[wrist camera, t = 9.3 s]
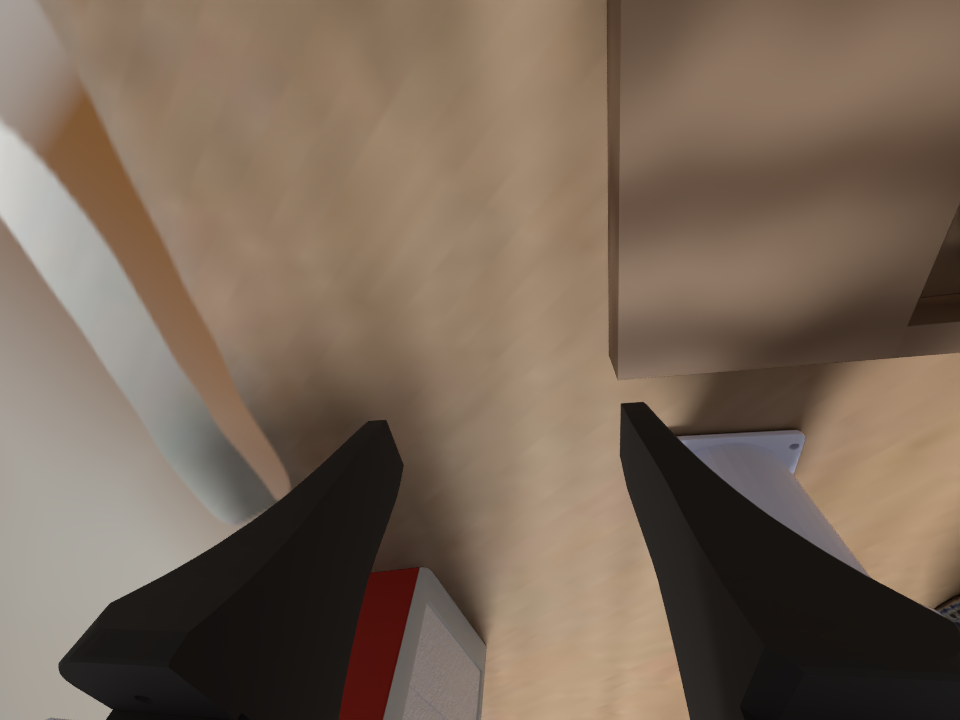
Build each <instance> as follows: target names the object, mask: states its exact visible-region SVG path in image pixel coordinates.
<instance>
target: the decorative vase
mask: <svg viewBox="0 0 960 720" xmlns="http://www.w3.org/2000/svg"><path fill="white" fill-rule="evenodd" d="M936 611H938V612H939V613H940V614H941V615H943V616H944V617H945V618H947V619H949V620H951V621H953V622H954V623H955V624H956V625H957V626H958V627H959V628H960V596H958V597H956V598H954V599H952V600H950V601H948V602H946V603H944V604H943V605H941V606H940V607H939V608H937V609H936Z"/></svg>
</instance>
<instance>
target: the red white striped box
mask: <svg viewBox="0 0 960 720" xmlns="http://www.w3.org/2000/svg"><path fill="white" fill-rule="evenodd" d="M486 649H487V648H486V646H485V644H484V643H483V641H482V640H481V639H480V637H479V636H478V634H477V633H476V632H475V630H474V629H473V628H472V626H471V625H470V623H469V622H468V621H467V619H466V618H465V616H464V615H463V614H462V612H461V611H460V610H459V608H458V607H457V605H456V604H455V603H454V601H453V600H452V598H451V597H450V596H449V594H448V593H447V592H446V590H445V589H444V587H443V586H442V585H441V583H440V582H439V580H438V579H437V578H436V576H435V575H434V574H433V572H432V571H431V570H430V569H428V568H425V567H420V569H419V568H418V567H417V568H408V569H400V570H391V571H383V572H374V573H370V575H369V579H368V583H367V587H366V591H365V595H364V599H363V603H362V607H361V611H360V615H359V619H358V624H357V628H356V633H355V637H354V641H353V646H352V651H351V656H350V661H349V666H348V671H347V676H346V681H345V686H344V692H343V698H342V704H341V710H340V716H339V720H481V713H482V700H483V687H484V674H485V662H486Z"/></svg>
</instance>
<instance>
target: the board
mask: <svg viewBox="0 0 960 720" xmlns="http://www.w3.org/2000/svg"><path fill="white" fill-rule="evenodd" d="M607 84H608V261H609V357H610V359H611V362H612V365H613V368H614V371H615V374H616V377H617V379H618V380H628V379H640V378H653V377H665V376H677V375H690V374H702V373H714V372H727V371H739V370H751V369H764V368H776V367H788V366H801V365H813V364H825V363H838V362H850V361H862V360H875V359H887V358H899V357H912V356H924V355H936V354H949V353H960V294H952V295H943V296H933V297H924V298H919V297H920V295H921V293H922V290H923V288H924V286H925V283H926V281H927V279H928V276H929V274H930V272H931V269H932V267H933V265H934V262H935V260H936V258H937V255H938V253H939V251H940V248H941V246H942V244H943V241H944V239H945V237H946V234H947V232H948V230H949V227H950V225H951V223H952V220H953V218H954V216H955V213H956V211H957V209H958V206H959V204H960V0H607Z"/></svg>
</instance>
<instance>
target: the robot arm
mask: <svg viewBox="0 0 960 720" xmlns="http://www.w3.org/2000/svg"><path fill="white" fill-rule="evenodd" d="M804 442H805V436H804V434H803V433H802V432H801V431H799V430H785V431H767V432H748V433H730V434H712V435H694V436H675V435H674V434H673V433H672V432H671V431H670V430H669V428H668V427H667V426H666V425H665V424H664V423H663V422H662V421H661V420H660V419H659V418H658V417H657V416H656V415H655V413H654V412H653V411H652V410H651V409H650V408H649V407H648V406H647V405H646V404H645V403H644V402H636V403H622V404H621V427H620V458H621V462H622V467H623V472H624V476H625V481H626V485H627V489H628V492H629V495H630V498H631V501H632V504H633V507H634V510H635V513H636V516H637V518H638V521H639V524H640V527H641V530H642V533H643V536H644V539H645V542H646V545H647V547H648V550H649V553H650V556H651V559H652V562H653V565H654V568H655V572H656V575H657V578H658V582H659V586H660V590H661V594H662V598H663V602H664V606H665V611H666V615H667V619H668V623H669V627H670V632H671V636H672V640H673V644H674V649H675V653H676V657H677V662H678V666H679V671H680V675H681V680H682V684H683V689H684V693H685V698H686V702H687V707H688V711H689V716H690V720H960V628H959V627H958V626H957V625H956V624H955V623H954V622H953V621H951V620H949V619H947V618H945V617H944V616H943V615H941V614H940V613H939V612H938V611H936V610H934V609H932V608H929V607H926V606H924V605H921V604H919V603H917V602H915V601H913V600H911V599H909V598H907V597H905V596H904V595H902V594H900V593H898V592H896V591H894V590H892V589H890V588H888V587H886V586H885V585H883V584H881V583H879V582H877V581H875V580H873V579H872V578H871V577H870V576H869V575H868V573H867V572H866V571H865V569H864V568H863V567H862V565H861V564H860V563H859V561H858V560H857V559H856V557H855V556H854V555H853V553H852V552H851V551H850V550H849V548H848V547H847V546H846V544H845V543H844V542H843V540H842V539H841V538H840V536H839V535H838V534H837V532H836V531H835V530H834V528H833V527H832V526H831V524H830V523H829V522H828V520H827V519H826V518H825V516H824V515H823V514H822V512H821V511H820V510H819V509H818V507H817V506H816V505H815V503H814V502H813V501H812V499H811V498H810V497H809V495H808V494H807V493H806V491H805V490H804V489H803V487H802V486H801V485H800V483H799V482H798V481H797V479H796V478H795V477H794V472H795V469H796V466H797V463H798V460H799V457H800V454H801V451H802V448H803V445H804ZM403 466H404V465H403V463H402V460H401V457H400V455H399V452H398V450H397V447H396V444H395V442H394V439H393V436H392V434H391V431H390V429H389V426H388V423H387V421H386V420H378V421H368V422H367V423H366V424H365V425H363V426H362V427H361V428H360V429H359V430H358V431H357V432H356V433H355V434H354V435H353V436H352V437H350V438H349V439H348V440H347V441H346V442H345V443H344V444H343V445H342V446H341V447H340V448H339V449H338V450H337V451H336V452H335V453H334V454H332V455H331V456H330V457H329V458H328V459H327V460H326V461H325V462H324V463H323V464H322V465H321V466H320V467H318V468H317V469H316V470H315V471H314V472H313V473H312V474H310V475H309V476H308V477H307V478H306V479H305V480H304V481H302V482H301V483H300V484H299V485H298V486H297V487H295V488H294V489H293V490H292V491H291V492H290V493H288V494H287V495H286V496H285V497H283V498H282V499H281V500H280V501H278V502H277V503H276V504H275V505H273V506H272V507H270V508H269V509H268V510H266V511H265V512H264V513H262V514H261V515H260V516H258V517H257V518H256V519H254V520H253V521H252V522H250V523H248V524H247V525H246V526H244V527H243V528H241V529H240V530H238V531H237V532H235V533H234V534H232V535H231V536H229V537H228V538H226V539H225V540H223V541H222V542H220V543H219V544H217V545H215V546H214V547H212V548H211V549H209V550H207V551H206V552H204V553H202V554H201V555H199V556H197V557H196V558H194V559H193V560H190V561H189V562H187V563H185V564H184V565H182V566H180V567H178V568H177V569H175V570H173V571H171V572H169V573H168V574H166V575H164V576H162V577H160V578H158V579H156V580H155V581H153V582H151V583H149V584H147V585H145V586H143V587H141V588H139V589H137V590H135V591H133V592H131V593H129V594H127V595H126V596H124V597H122V598H120V599H118V600H115V601H114V602H111V603H110V604H109V605H108V606H107V607H106V608H105V610H104V611H103V612H102V613H101V614H100V615H99V617H98V618H97V619H96V620H95V621H94V622H93V624H92V625H91V626H90V627H89V628H88V630H87V631H86V632H85V633H84V634H83V635H82V637H81V638H80V639H79V640H78V641H77V643H76V644H75V645H74V646H73V647H72V648H71V649H70V650H69V652H68V653H67V654H66V655H65V656H64V657H63V659H62V660H61V661H60V662H59V671H60V674H61V675H62V677H63V678H64V679H65V680H66V681H68V682H69V683H71V684H72V685H73V686H75V687H76V688H78V689H80V690H81V691H83V692H85V693H86V694H88V695H90V696H91V697H93V698H94V699H96V700H98V701H99V702H101V703H103V704H104V705H106V706H108V707H109V708H111V709H113V710H112V712H111V713H110V715H109V716H108V717H107V719H106V720H339V716H340V710H341V704H342V698H343V692H344V686H345V681H346V676H347V671H348V666H349V661H350V656H351V651H352V646H353V641H354V637H355V633H356V628H357V624H358V619H359V615H360V611H361V607H362V603H363V599H364V595H365V591H366V587H367V583H368V579H369V575H370V572H371V569H372V566H373V563H374V560H375V557H376V554H377V551H378V549H379V546H380V543H381V540H382V538H383V535H384V532H385V529H386V526H387V524H388V521H389V518H390V515H391V512H392V509H393V507H394V504H395V501H396V498H397V494H398V490H399V486H400V481H401V476H402V471H403ZM47 720H67V719H57V718H49V719H47Z"/></svg>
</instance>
